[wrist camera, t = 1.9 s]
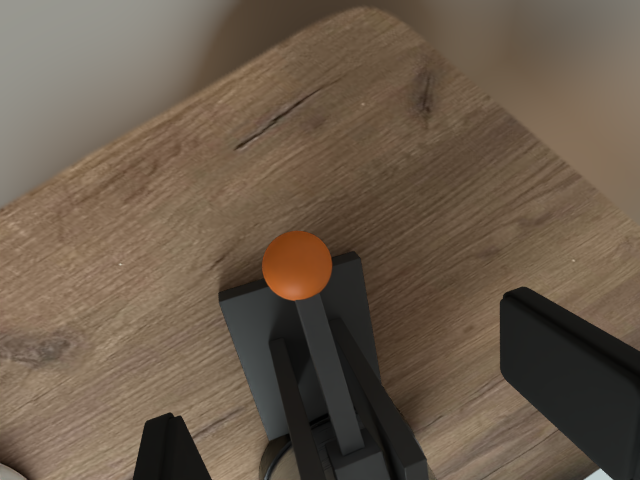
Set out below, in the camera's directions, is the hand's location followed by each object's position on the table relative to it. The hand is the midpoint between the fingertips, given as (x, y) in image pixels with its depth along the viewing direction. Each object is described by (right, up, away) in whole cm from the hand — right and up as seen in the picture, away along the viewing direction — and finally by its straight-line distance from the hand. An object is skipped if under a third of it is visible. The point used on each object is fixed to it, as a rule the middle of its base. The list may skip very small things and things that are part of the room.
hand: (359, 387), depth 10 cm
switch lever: (-1, -2, +8) cm, 8 cm away
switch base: (-2, -3, +15) cm, 16 cm away
